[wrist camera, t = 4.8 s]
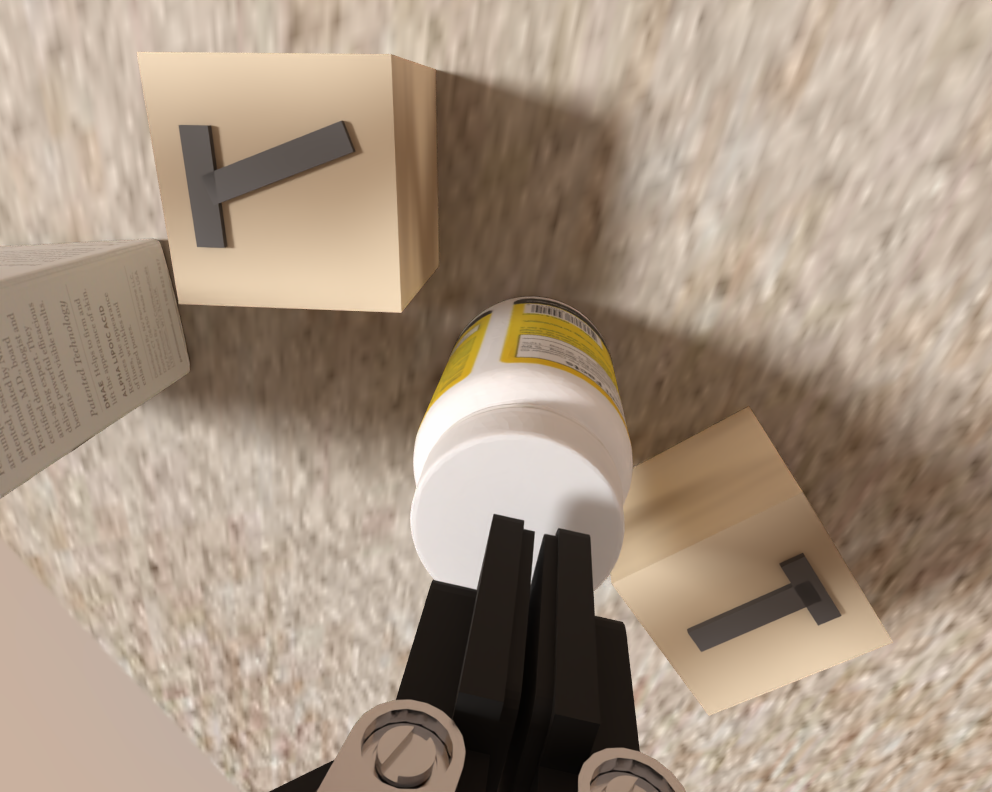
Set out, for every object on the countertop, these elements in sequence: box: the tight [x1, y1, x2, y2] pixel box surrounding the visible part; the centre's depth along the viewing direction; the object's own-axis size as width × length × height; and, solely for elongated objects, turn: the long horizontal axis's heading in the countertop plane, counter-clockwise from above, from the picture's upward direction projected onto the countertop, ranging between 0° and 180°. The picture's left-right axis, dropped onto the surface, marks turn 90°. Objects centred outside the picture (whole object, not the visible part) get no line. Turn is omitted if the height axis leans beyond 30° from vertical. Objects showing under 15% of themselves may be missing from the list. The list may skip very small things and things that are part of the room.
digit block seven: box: [137, 52, 439, 313], centre depth 16 cm, size 5×5×5 cm
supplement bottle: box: [410, 296, 633, 591], centre depth 16 cm, size 5×5×8 cm
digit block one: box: [611, 406, 893, 716], centre depth 19 cm, size 5×5×5 cm
